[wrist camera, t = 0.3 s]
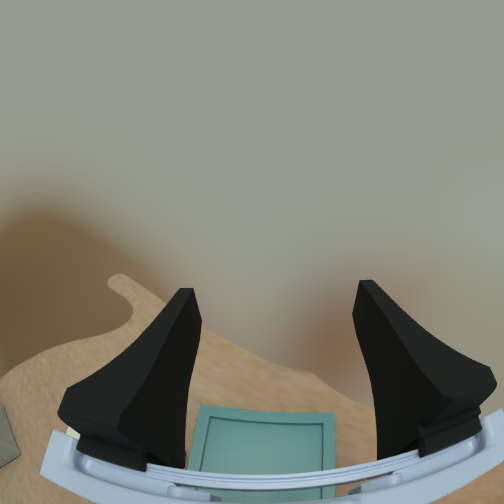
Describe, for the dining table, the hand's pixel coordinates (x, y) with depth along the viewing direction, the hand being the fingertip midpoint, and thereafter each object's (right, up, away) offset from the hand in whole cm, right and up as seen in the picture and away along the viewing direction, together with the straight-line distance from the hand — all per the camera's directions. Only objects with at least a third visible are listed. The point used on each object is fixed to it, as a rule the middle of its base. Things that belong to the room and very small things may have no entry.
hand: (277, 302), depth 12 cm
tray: (0, -19, +8) cm, 21 cm away
